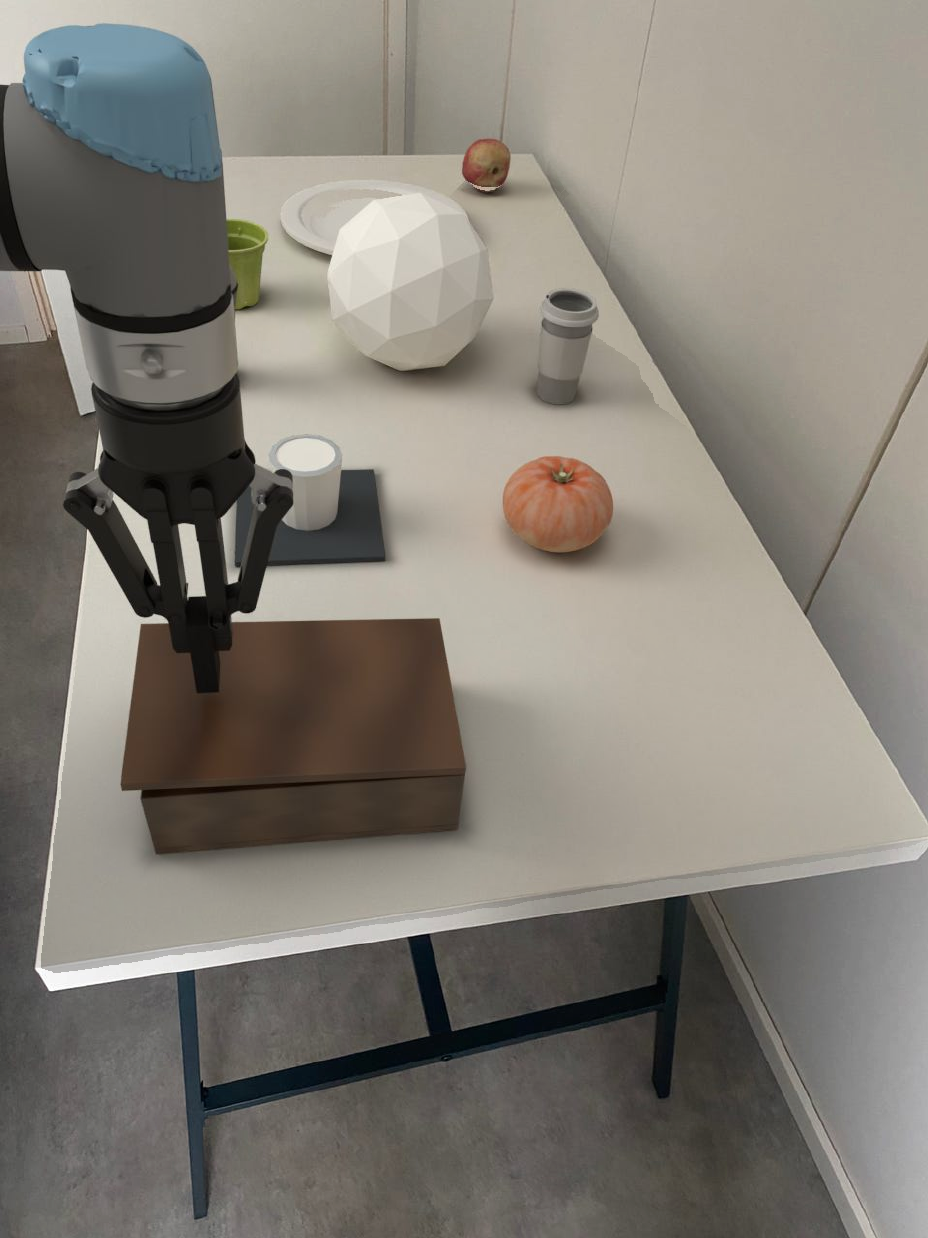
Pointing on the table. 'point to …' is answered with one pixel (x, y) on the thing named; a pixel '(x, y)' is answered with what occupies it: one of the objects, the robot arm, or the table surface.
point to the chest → (299, 812)
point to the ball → (409, 282)
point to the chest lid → (295, 707)
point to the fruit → (486, 163)
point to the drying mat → (325, 528)
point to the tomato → (557, 504)
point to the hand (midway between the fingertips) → (208, 677)
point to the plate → (341, 210)
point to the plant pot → (246, 258)
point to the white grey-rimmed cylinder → (310, 479)
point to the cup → (564, 342)
